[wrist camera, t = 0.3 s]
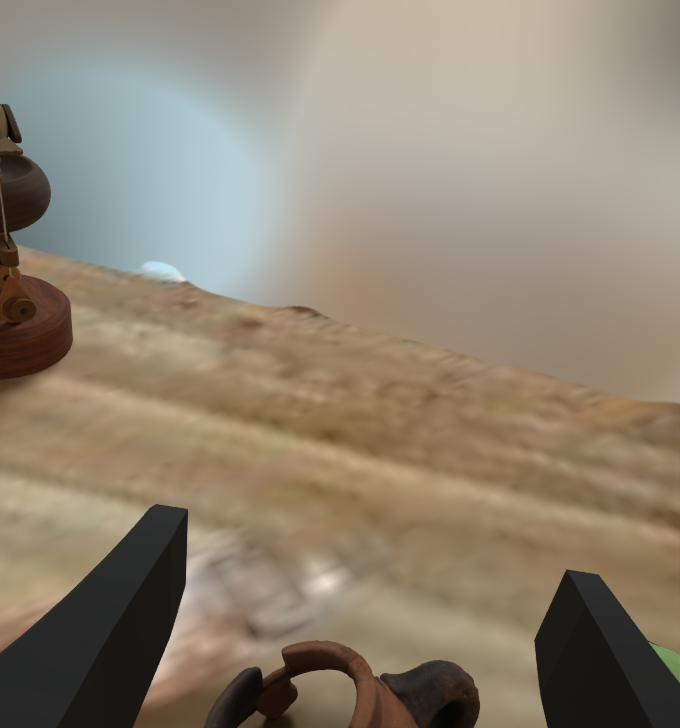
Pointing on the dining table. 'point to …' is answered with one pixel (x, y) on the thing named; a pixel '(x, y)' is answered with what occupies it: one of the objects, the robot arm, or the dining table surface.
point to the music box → (4, 281)
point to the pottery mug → (374, 695)
